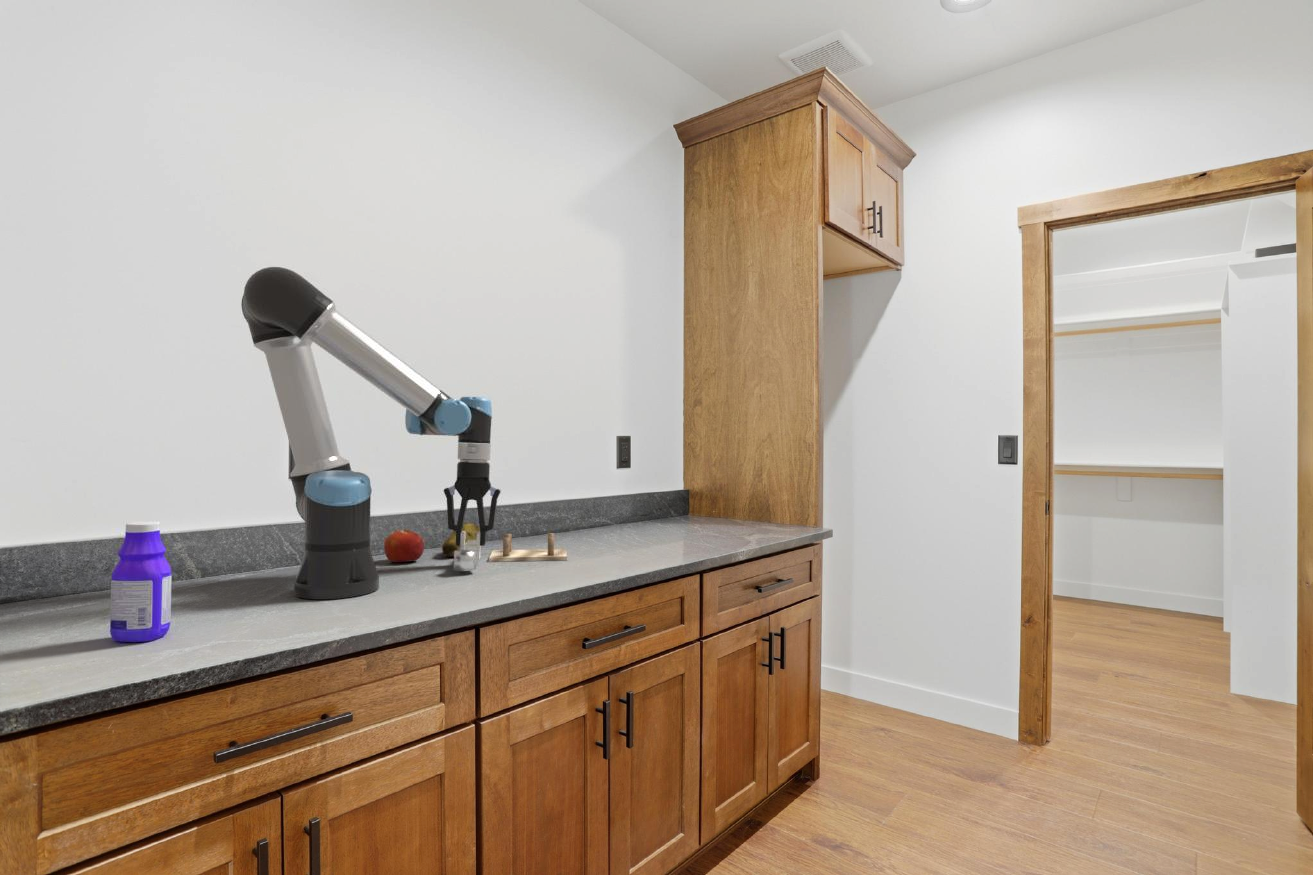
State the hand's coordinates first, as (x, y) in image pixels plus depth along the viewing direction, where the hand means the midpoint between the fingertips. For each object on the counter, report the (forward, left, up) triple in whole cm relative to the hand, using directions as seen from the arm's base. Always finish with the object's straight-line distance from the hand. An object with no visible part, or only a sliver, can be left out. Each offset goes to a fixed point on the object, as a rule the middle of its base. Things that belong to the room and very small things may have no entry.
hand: (470, 559), depth 159 cm
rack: (+14, +9, -1) cm, 17 cm away
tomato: (-16, +6, -2) cm, 18 cm away
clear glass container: (0, -2, -1) cm, 2 cm away
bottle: (-41, -54, -2) cm, 68 cm away
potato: (-4, +15, -2) cm, 16 cm away
